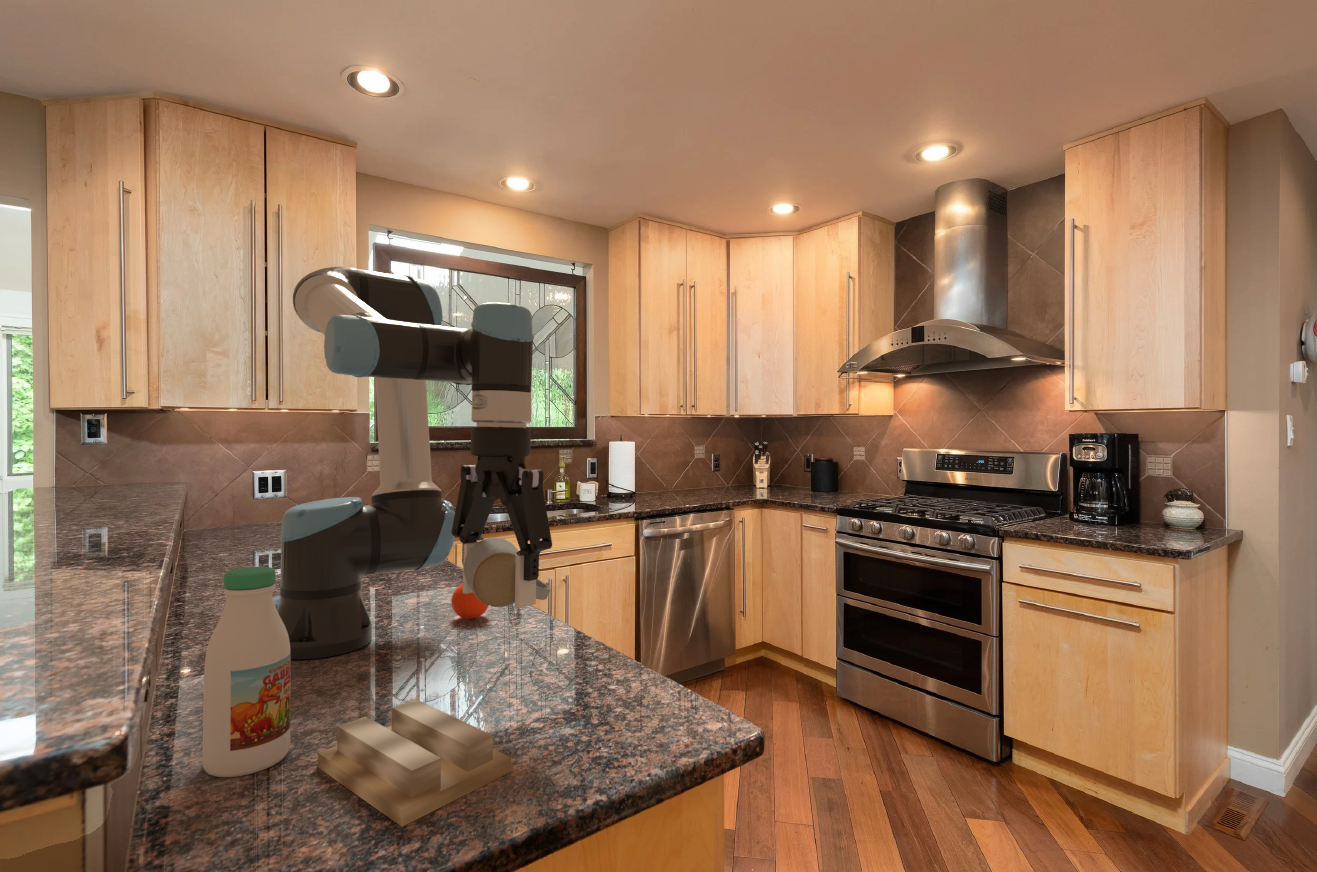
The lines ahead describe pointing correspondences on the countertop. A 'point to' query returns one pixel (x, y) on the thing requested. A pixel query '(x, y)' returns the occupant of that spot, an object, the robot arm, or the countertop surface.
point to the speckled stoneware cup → (495, 572)
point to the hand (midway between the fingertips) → (498, 598)
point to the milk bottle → (247, 679)
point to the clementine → (467, 604)
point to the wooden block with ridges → (413, 760)
